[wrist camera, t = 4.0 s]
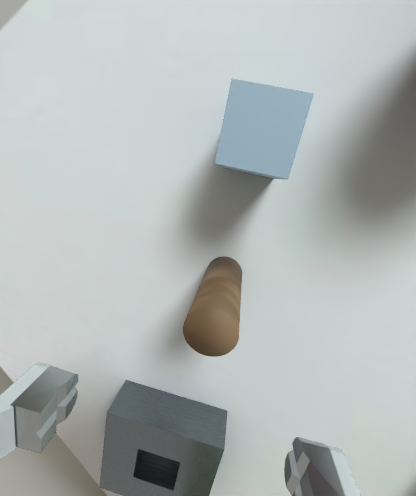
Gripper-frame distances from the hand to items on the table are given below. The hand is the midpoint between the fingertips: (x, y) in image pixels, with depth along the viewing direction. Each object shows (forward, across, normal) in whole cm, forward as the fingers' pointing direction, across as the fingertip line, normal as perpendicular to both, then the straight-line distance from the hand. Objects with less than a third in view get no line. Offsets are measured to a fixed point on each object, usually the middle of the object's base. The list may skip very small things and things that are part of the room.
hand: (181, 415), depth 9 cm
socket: (+14, +1, +22) cm, 26 cm away
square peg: (+14, -1, -11) cm, 18 cm away
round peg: (+14, -1, 0) cm, 14 cm away
